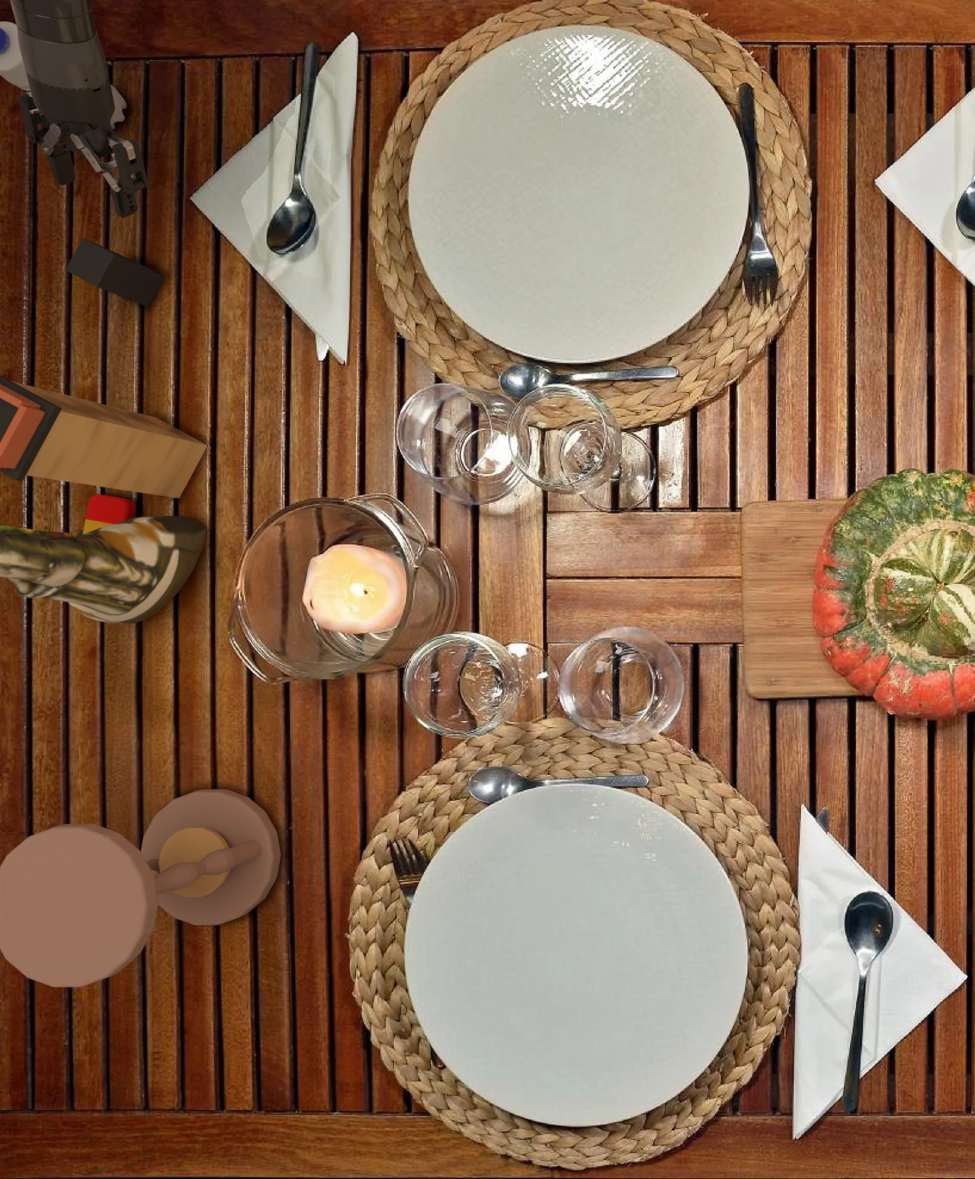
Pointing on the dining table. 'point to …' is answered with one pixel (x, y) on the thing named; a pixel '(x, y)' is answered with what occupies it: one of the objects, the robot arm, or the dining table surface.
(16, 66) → the bottle
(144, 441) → the stand
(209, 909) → the hourglass
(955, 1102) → the dining table surface
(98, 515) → the popsicle
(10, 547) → the statue
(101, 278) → the post
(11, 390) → the base pad
